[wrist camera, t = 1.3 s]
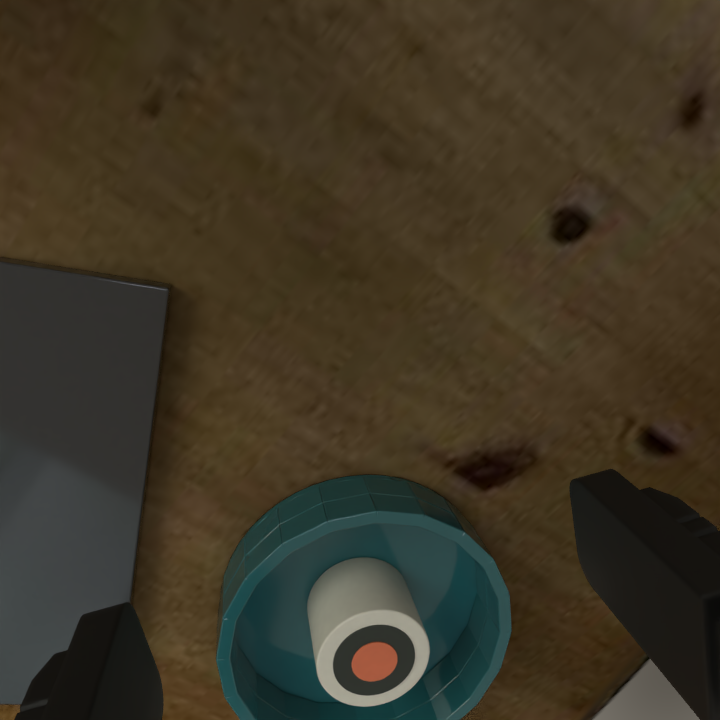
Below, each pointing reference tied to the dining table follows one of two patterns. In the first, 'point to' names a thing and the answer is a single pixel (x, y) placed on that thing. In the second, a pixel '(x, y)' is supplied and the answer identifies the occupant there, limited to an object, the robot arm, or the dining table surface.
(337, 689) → the sushi roll
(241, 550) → the bowl
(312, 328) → the dining table surface
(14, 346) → the glossy dark tile
